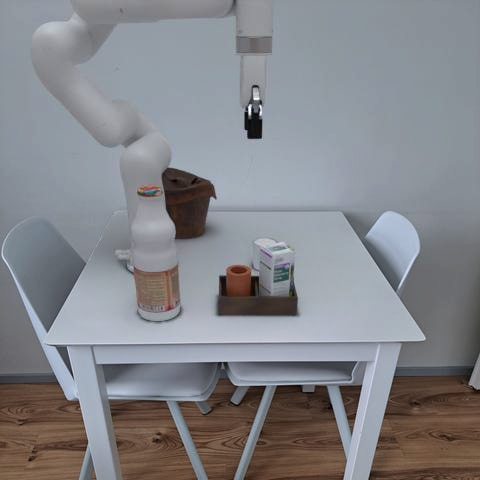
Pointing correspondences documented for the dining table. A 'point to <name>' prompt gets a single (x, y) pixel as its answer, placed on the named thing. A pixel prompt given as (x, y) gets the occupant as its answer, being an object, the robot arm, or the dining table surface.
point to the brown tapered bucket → (187, 201)
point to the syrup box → (276, 270)
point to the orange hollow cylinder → (238, 280)
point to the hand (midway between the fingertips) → (252, 134)
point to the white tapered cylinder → (256, 249)
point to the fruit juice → (155, 257)
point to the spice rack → (255, 301)
